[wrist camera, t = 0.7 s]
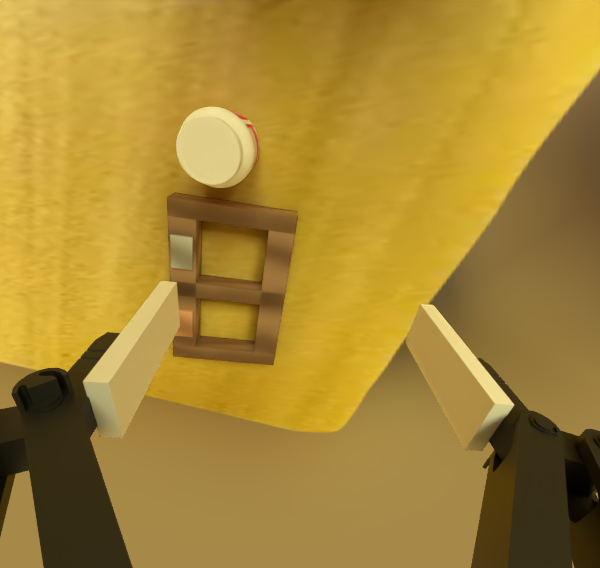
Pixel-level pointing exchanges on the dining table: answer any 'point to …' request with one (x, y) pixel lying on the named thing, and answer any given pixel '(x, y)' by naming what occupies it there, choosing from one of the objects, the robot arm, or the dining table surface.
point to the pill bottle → (217, 146)
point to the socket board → (194, 286)
